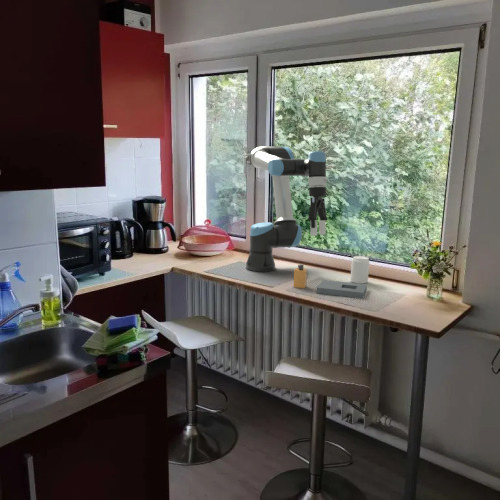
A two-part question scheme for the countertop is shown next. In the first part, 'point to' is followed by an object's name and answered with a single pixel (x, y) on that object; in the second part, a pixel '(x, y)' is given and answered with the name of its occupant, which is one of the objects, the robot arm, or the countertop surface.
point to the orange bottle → (300, 277)
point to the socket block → (341, 288)
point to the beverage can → (359, 269)
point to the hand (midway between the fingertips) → (318, 235)
